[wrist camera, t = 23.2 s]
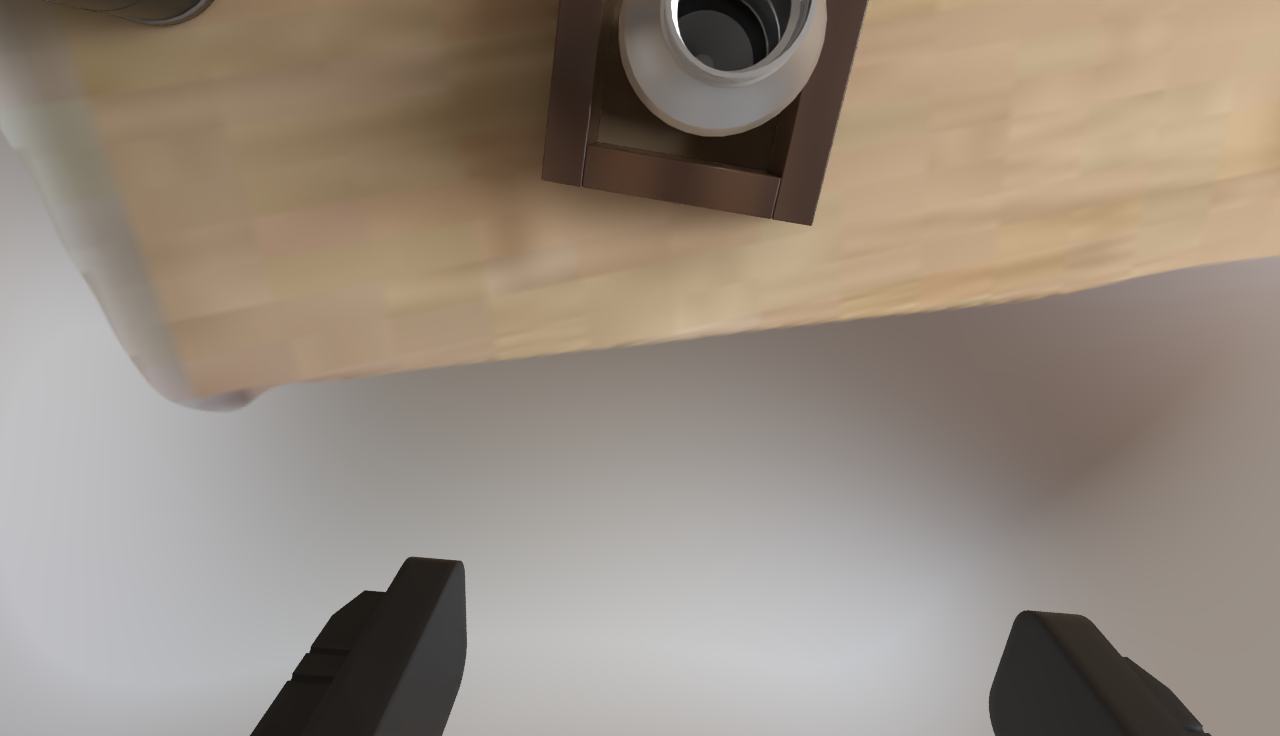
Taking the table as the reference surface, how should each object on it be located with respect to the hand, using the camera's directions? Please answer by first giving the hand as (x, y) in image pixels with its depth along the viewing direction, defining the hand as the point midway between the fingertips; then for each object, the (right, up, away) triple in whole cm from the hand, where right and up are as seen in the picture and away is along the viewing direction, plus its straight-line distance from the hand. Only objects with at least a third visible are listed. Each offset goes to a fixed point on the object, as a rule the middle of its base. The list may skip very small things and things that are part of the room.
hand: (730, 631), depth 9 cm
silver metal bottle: (+2, +20, +25) cm, 32 cm away
